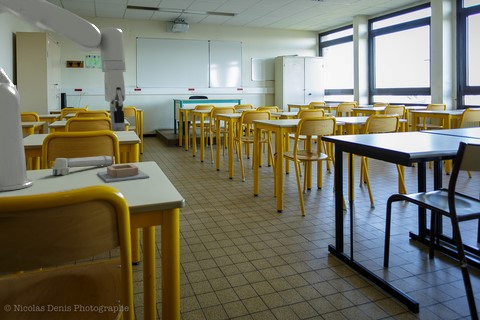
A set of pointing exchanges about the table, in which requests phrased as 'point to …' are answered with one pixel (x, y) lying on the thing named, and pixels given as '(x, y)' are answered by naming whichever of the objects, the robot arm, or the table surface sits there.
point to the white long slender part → (79, 163)
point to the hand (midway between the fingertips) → (117, 121)
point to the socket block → (122, 173)
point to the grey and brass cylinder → (114, 125)
